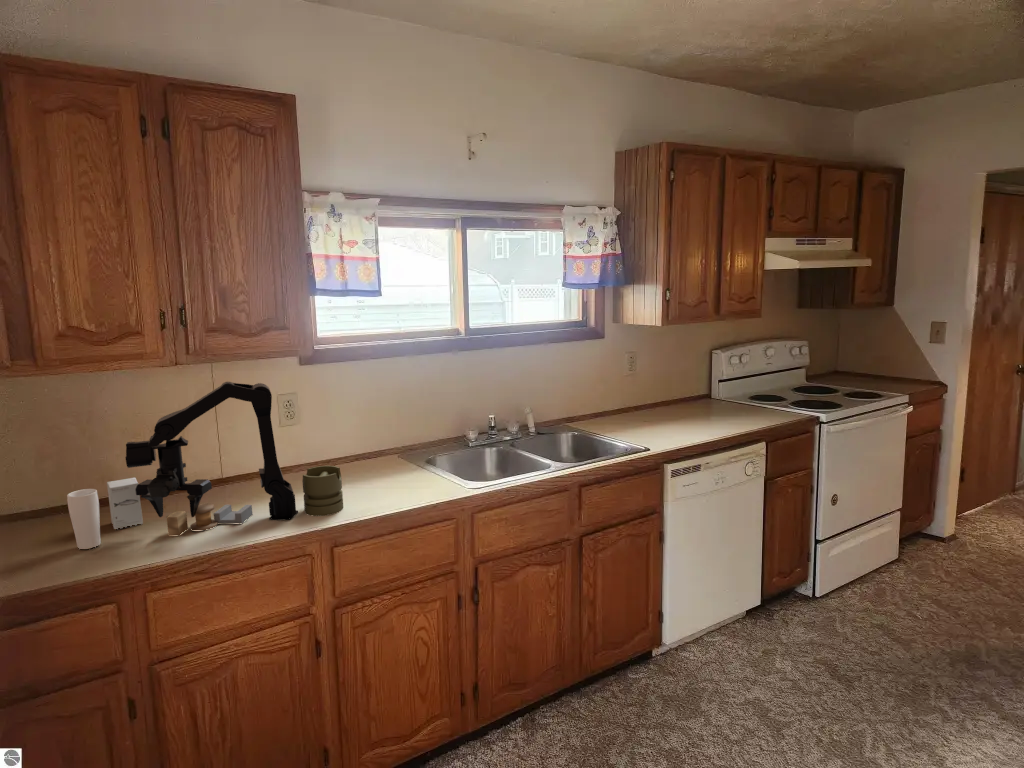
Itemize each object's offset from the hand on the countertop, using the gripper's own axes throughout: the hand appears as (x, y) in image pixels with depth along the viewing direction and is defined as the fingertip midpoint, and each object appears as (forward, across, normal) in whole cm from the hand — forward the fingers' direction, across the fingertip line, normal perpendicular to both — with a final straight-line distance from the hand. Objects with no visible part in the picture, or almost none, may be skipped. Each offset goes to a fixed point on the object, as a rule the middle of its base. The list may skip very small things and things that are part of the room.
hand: (177, 516), depth 182 cm
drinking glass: (+5, -19, -10) cm, 22 cm away
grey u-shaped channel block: (+5, +11, +10) cm, 16 cm away
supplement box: (+5, -19, +6) cm, 21 cm away
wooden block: (+5, 0, 0) cm, 5 cm away
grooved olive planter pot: (+5, +35, +18) cm, 40 cm away
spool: (+5, +5, +4) cm, 8 cm away
